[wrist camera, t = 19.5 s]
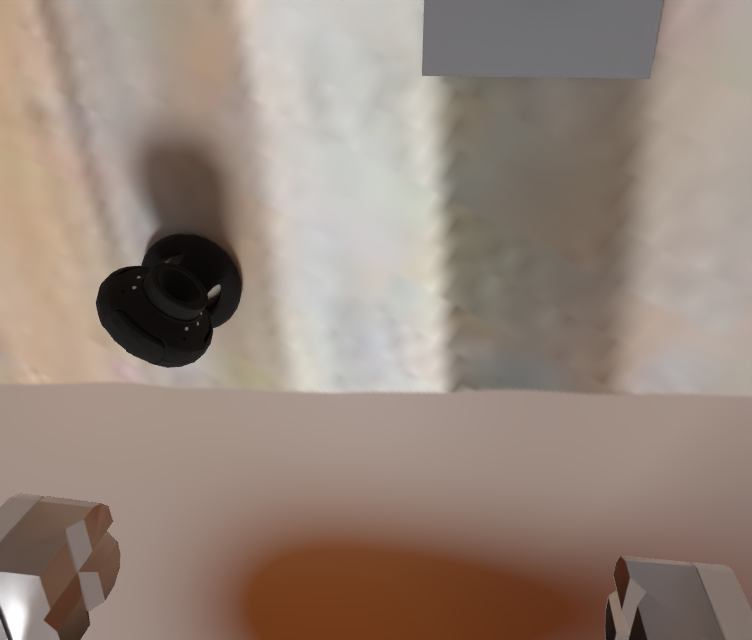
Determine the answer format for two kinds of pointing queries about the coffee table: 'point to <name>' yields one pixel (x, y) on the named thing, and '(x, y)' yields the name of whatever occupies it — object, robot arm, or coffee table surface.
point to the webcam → (169, 301)
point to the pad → (540, 38)
